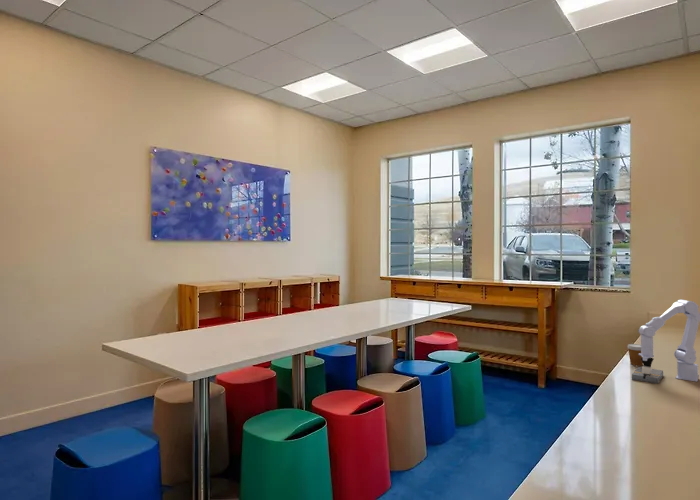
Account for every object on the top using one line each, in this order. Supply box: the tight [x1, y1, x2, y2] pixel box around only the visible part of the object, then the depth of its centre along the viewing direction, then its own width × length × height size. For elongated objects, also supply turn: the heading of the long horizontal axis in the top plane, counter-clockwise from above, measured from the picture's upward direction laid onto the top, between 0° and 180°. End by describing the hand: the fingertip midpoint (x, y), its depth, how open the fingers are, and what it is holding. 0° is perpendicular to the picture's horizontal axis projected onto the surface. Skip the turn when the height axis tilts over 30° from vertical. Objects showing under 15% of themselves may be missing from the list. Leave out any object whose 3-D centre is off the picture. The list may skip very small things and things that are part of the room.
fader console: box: [631, 366, 664, 385], centre depth 244 cm, size 12×19×3 cm, turn 137°
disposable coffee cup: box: [627, 343, 644, 367], centre depth 271 cm, size 10×10×12 cm
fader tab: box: [641, 365, 652, 376], centre depth 242 cm, size 4×3×5 cm
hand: (647, 370), depth 244 cm, fingers closed
